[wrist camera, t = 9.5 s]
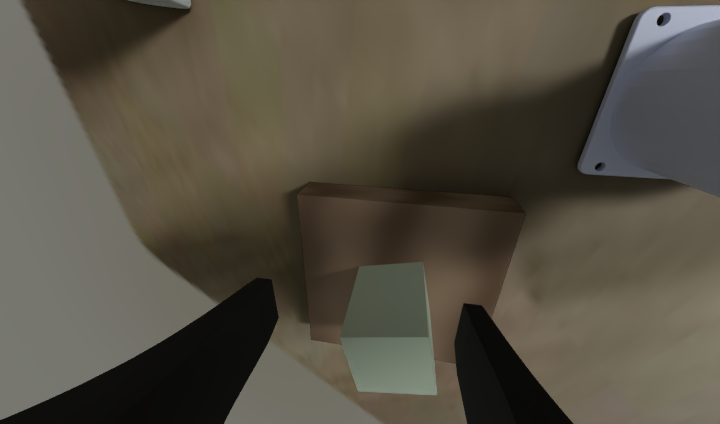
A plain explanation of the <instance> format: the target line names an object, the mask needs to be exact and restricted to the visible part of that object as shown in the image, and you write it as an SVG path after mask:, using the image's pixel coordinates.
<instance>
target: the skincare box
mask: <svg viewBox="0 0 720 424" xmlns="http://www.w3.org/2000/svg"><path fill="white" fill-rule="evenodd" d="M128 1H132V2H138V3H143V4H149V5H156V6H163V7H171V8H180V9H189V8H190V7H191V0H128Z"/></svg>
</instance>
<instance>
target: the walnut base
mask: <svg viewBox="0 0 720 424" xmlns="http://www.w3.org/2000/svg"><path fill="white" fill-rule="evenodd" d="M297 200H298V210H299V220H300V230H301V240H302V251H303V261H304V271H305V281H306V291H307V301H308V312H309V322H310V332H311V340H316V341H322V342H328V343H334V344H340V345H342V343H341V340H340V335H341V331H342V327H343V324H344V320H345V317H346V313H347V309H348V306H349V302H350V299H351V295H352V291H353V288H354V284H355V281H356V277H357V273H358V270H359V266H371V265H386V264H400V263H414V262H423V265H424V273H425V280H426V287H427V295H428V302H429V309H430V319H431V331H432V342H433V353H434V360H437V361H443V362H449V363H455V364H456V358H455V348H454V341H455V337H456V332H457V328H458V324H459V319H460V315H461V311H462V307H463V303H467V304H476V305H482V306H483V307H484V308H485V310H486V311H487V313H488V314H489V316H490V317H491V319H492V315H493V312H494V309H495V306H496V303H497V300H498V297H499V294H500V291H501V288H502V285H503V282H504V279H505V276H506V273H507V270H508V267H509V264H510V261H511V258H512V255H513V252H514V249H515V246H516V243H517V240H518V237H519V234H520V231H521V228H522V225H523V222H524V219H525V216H526V213H525V212H524V211H523V209H522V208H521V207H520V206H519V205H518V204H517V203H516V202H515V201H514V200H513V198H512V197H503V196H490V195H476V194H463V193H449V192H436V191H422V190H409V189H396V188H382V187H369V186H355V185H342V184H328V183H315V182H309V183H308V184H307V185H306V186H305V187H304V188H303V189H302V190H301V191H300V192H299V193H298V194H297Z"/></svg>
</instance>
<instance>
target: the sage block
mask: <svg viewBox="0 0 720 424" xmlns="http://www.w3.org/2000/svg"><path fill="white" fill-rule="evenodd" d="M340 340H341V343H342V346H343V349H344V352H345V355H346V357H347V360H348V363H349V366H350V369H351V372H352V375H353V378H354V381H355V384H356V387H357V390H358V391H361V392H381V393H401V394H421V395H437V388H436V376H435V365H434V353H433V342H432V331H431V319H430V309H429V302H428V295H427V287H426V280H425V273H424V265H423V262H414V263H400V264H386V265H371V266H359V270H358V273H357V277H356V281H355V284H354V288H353V291H352V295H351V299H350V302H349V306H348V309H347V313H346V317H345V320H344V324H343V327H342V331H341V335H340Z"/></svg>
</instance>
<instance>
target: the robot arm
mask: <svg viewBox="0 0 720 424" xmlns="http://www.w3.org/2000/svg"><path fill="white" fill-rule="evenodd" d="M660 15H663V17H664V19H663V22H662V24H661V25H660V26H658V25H657V19H658V18H659V16H660ZM598 163H601V166H600V167H599V168H597V169H595V166H596V165H597V164H598ZM577 168H578V170H579V171H580V172H582V173H584V174H591V175H607V176H624V177H640V178H657V179H671V180H674V181H677V182H680V183H682V184H685V185H688V186H691V187H693V188H696V189H699V190H702V191H704V192H707V193H710V194H713V195H715V196H718V197H720V5H705V6H661V7H652V8H649V9H645V10H644V11H642V12H640V13H639V14H638V15H637V16H636V18H635V20H634V22H633V24H632V27H631V29H630V32H629V34H628V37H627V39H626V42H625V45H624V47H623V50H622V52H621V55H620V57H619V60H618V62H617V65H616V68H615V70H614V73H613V75H612V78H611V80H610V83H609V85H608V88H607V91H606V93H605V96H604V98H603V101H602V103H601V106H600V108H599V111H598V114H597V116H596V119H595V121H594V124H593V126H592V129H591V131H590V134H589V137H588V139H587V142H586V144H585V147H584V149H583V152H582V154H581V157H580V160H579V162H578V166H577ZM278 318H279V317H278V312H277V306H276V301H275V296H274V291H273V285H272V280H271V279H263V278H256V279H255V280H253V281H251V282H250V283H249V284H247V285H246V286H244V287H243V288H241V289H240V290H239V291H237V292H236V293H234V294H233V295H231V296H230V297H229V298H227V299H226V300H224V301H223V302H221V303H220V304H219V305H217V306H216V307H215V308H213V309H211V310H210V311H209V312H207V313H206V314H204V315H203V316H201V317H200V318H198V319H197V320H195V321H193V322H192V323H190V324H189V325H187V326H186V327H184V328H183V329H181V330H179V331H178V332H176V333H175V334H173V335H172V336H170V337H168V338H167V339H165V340H164V341H162V342H160V343H158V344H157V345H155V346H153V347H152V348H150V349H148V350H146V351H144V352H143V353H141V354H139V355H137V356H136V357H134V358H132V359H130V360H128V361H127V362H125V363H123V364H121V365H119V366H117V367H115V368H113V369H111V370H109V371H107V372H105V373H103V374H101V375H99V376H97V377H95V378H93V379H91V380H89V381H87V382H85V383H83V384H81V385H79V386H77V387H75V388H73V389H71V390H69V391H66V392H64V393H62V394H60V395H57V396H55V397H53V398H51V399H49V400H47V401H44V402H42V403H40V404H37V405H35V406H33V407H31V408H28V409H26V410H24V411H22V412H19V413H17V414H14V415H12V416H10V417H7V418H5V419H2V420H0V424H224V422H225V420H226V418H227V416H228V414H229V412H230V410H231V408H232V406H233V404H234V403H235V401H236V399H237V397H238V396H239V394H240V392H241V390H242V389H243V387H244V385H245V383H246V381H247V379H248V378H249V376H250V374H251V373H252V371H253V369H254V367H255V366H256V364H257V362H258V360H259V358H260V356H261V355H262V353H263V351H264V349H265V347H266V346H267V344H268V342H269V339H270V337H271V335H272V333H273V330H274V328H275V325H276V323H277V320H278ZM454 348H455V358H456V368H457V376H458V381H459V386H460V390H461V395H462V400H463V405H464V410H465V415H466V419H467V424H573V423H572V421H571V420H570V419H569V418H568V417H567V416H566V415H565V413H564V412H563V411H562V410H561V409H560V408H559V406H558V405H557V404H556V403H555V402H554V400H553V399H552V398H551V397H550V396H549V394H548V393H547V392H546V391H545V390H544V388H543V387H542V386H541V385H540V383H539V382H538V381H537V380H536V378H535V377H534V376H533V375H532V373H531V372H530V371H529V369H528V368H527V367H526V366H525V364H524V363H523V362H522V360H521V359H520V358H519V356H518V355H517V354H516V352H515V351H514V350H513V348H512V347H511V346H510V344H509V343H508V342H507V340H506V339H505V337H504V336H503V334H502V333H501V332H500V330H499V329H498V327H497V326H496V325H495V323H494V322H493V320H492V319H491V317H490V316H489V314H488V313H487V311H486V310H485V308H484V307H483V306H482V305H476V304H467V303H463V307H462V311H461V315H460V319H459V324H458V328H457V332H456V337H455V341H454Z"/></svg>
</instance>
